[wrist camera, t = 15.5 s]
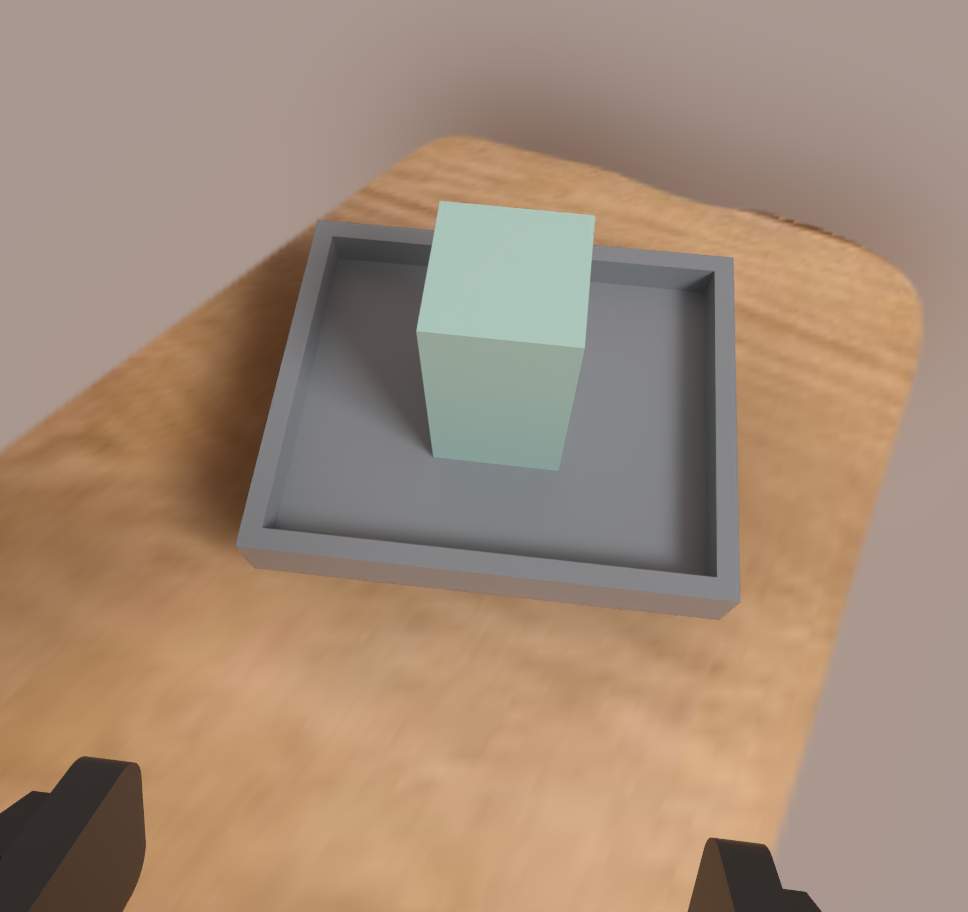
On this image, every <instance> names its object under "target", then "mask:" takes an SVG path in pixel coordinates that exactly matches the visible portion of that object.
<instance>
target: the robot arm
mask: <svg viewBox="0 0 968 912" xmlns="http://www.w3.org/2000/svg"><path fill="white" fill-rule="evenodd" d="M145 847H146V840H145V825H144V809H143V794H142V779H141V770H140V767H139V765H138V764H137V763H133V762H126V761H118V760H110V759H102V758H94V757H86V756H84V757H81V758H79V759H78V760H76V761H75V762H74V763H73V765H72V766H71V767H70V768H69V770H68V771H67V772H66V773H65V775H64V776H63V777H62V779H61V780H60V781H59V783H58V784H57V785H56V787H55V788H54V789H53V790H52V792H51V793H45V792H37V791H32V792H30V793H29V794H27V795H26V796H24V797H23V798H22V799H20V800H19V801H17V802H16V803H14V804H13V805H12V806H10V807H9V808H7V809H6V810H5V811H3V812H2V813H0V912H123V910H124V908H125V906H126V904H127V902H128V901H129V899H130V897H131V895H132V893H133V891H134V889H135V887H136V884H137V882H138V879H139V876H140V873H141V870H142V866H143V862H144V856H145ZM688 912H821V910H820V909H819V908H818V907H817V905H816V904H815V903H814V901H813V900H812V899H811V898H810V896H809V895H808V894H807V893H806V892H802V891H795V890H787V889H782V886H781V883H780V879H779V876H778V873H777V870H776V867H775V864H774V861H773V858H772V856H771V853H770V851H769V849H768V848H767V846H766V845H764V844H758V843H750V842H742V841H734V840H726V839H718V838H709V839H708V840H707V842H706V844H705V847H704V851H703V855H702V859H701V863H700V867H699V870H698V874H697V878H696V882H695V886H694V890H693V894H692V897H691V901H690V905H689V909H688Z"/></svg>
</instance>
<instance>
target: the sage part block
mask: <svg viewBox="0 0 968 912" xmlns="http://www.w3.org/2000/svg"><path fill="white" fill-rule="evenodd" d="M594 224H595V215H585V214H574V213H563V212H553V211H542V210H531V209H521V208H510V207H499V206H489V205H478V204H467V203H456V202H446V201H440V204H439V209H438V215H437V220H436V226H435V231H434V237H433V242H432V248H431V253H430V259H429V264H428V270H427V275H426V280H425V286H424V291H423V297H422V302H421V308H420V313H419V319H418V324H417V330H416V333H417V340H418V348H419V355H420V363H421V370H422V377H423V385H424V392H425V400H426V407H427V414H428V422H429V429H430V437H431V444H432V452H433V457H436V458H445V459H454V460H463V461H473V462H482V463H491V464H500V465H509V466H518V467H528V468H537V469H546V470H555V471H559V466H560V462H561V457H562V452H563V448H564V443H565V438H566V434H567V429H568V424H569V420H570V415H571V410H572V406H573V401H574V396H575V392H576V387H577V382H578V378H579V373H580V368H581V364H582V359H583V354H584V350H585V339H586V326H587V314H588V301H589V288H590V275H591V263H592V250H593V237H594Z"/></svg>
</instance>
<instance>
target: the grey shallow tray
mask: <svg viewBox="0 0 968 912" xmlns="http://www.w3.org/2000/svg"><path fill="white" fill-rule="evenodd" d="M433 237H434V230H423V229H412V228H401V227H390V226H379V225H368V224H357V223H346V222H335V221H324V220H318V221H317V225H316V229H315V233H314V237H313V241H312V245H311V249H310V253H309V257H308V261H307V265H306V268H305V272H304V276H303V280H302V284H301V288H300V292H299V296H298V300H297V304H296V308H295V312H294V316H293V320H292V324H291V328H290V332H289V336H288V340H287V343H286V347H285V351H284V355H283V359H282V363H281V367H280V371H279V375H278V379H277V383H276V387H275V391H274V395H273V399H272V403H271V407H270V411H269V414H268V418H267V422H266V426H265V430H264V434H263V438H262V442H261V446H260V450H259V454H258V458H257V462H256V466H255V470H254V474H253V478H252V482H251V486H250V489H249V493H248V497H247V501H246V505H245V509H244V513H243V517H242V521H241V525H240V529H239V533H238V537H237V541H236V545H235V547H236V548H237V549H238V550H239V551H240V552H241V554H242V555H243V556H244V557H245V558H246V559H247V560H248V561H249V563H250V564H251V565H252V566H253V567H254V568H258V569H267V570H276V571H285V572H294V573H303V574H312V575H321V576H329V577H338V578H347V579H356V580H365V581H374V582H383V583H392V584H401V585H410V586H419V587H428V588H437V589H446V590H455V591H464V592H473V593H482V594H491V595H500V596H509V597H518V598H527V599H536V600H545V601H554V602H563V603H572V604H581V605H590V606H599V607H608V608H617V609H626V610H635V611H644V612H653V613H662V614H671V615H680V616H689V617H698V618H707V619H716V620H720V619H721V618H722V617H724V616H725V615H726V614H727V613H728V612H729V611H731V610H732V609H733V608H734V607H735V606H736V605H737V604H739V603H740V562H739V512H738V461H737V411H736V361H735V310H734V260H733V258H731V257H720V256H709V255H698V254H687V253H676V252H665V251H654V250H643V249H632V248H621V247H610V246H599V245H593V250H592V263H591V275H590V288H589V301H588V314H587V326H586V339H585V350H584V354H583V359H582V364H581V368H580V373H579V378H578V382H577V387H576V392H575V396H574V401H573V406H572V410H571V415H570V420H569V424H568V429H567V434H566V438H565V443H564V448H563V452H562V457H561V462H560V466H559V471H555V470H546V469H537V468H528V467H518V466H509V465H500V464H491V463H482V462H473V461H463V460H454V459H445V458H436V457H433V452H432V444H431V437H430V429H429V422H428V414H427V407H426V400H425V392H424V385H423V377H422V370H421V363H420V355H419V348H418V340H417V333H416V330H417V324H418V319H419V313H420V308H421V302H422V297H423V291H424V286H425V280H426V275H427V270H428V264H429V259H430V253H431V248H432V242H433Z"/></svg>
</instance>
